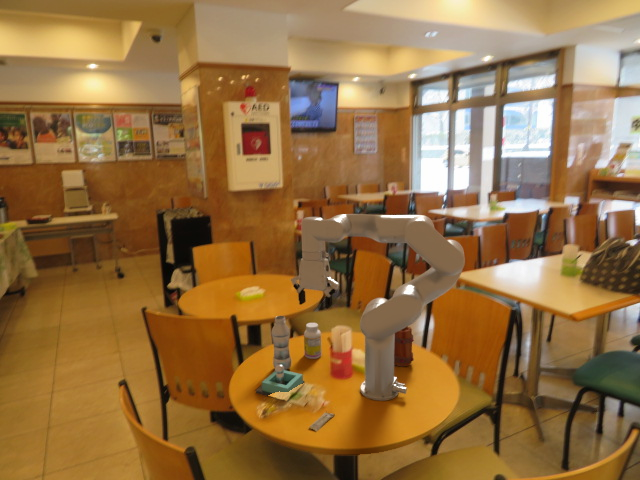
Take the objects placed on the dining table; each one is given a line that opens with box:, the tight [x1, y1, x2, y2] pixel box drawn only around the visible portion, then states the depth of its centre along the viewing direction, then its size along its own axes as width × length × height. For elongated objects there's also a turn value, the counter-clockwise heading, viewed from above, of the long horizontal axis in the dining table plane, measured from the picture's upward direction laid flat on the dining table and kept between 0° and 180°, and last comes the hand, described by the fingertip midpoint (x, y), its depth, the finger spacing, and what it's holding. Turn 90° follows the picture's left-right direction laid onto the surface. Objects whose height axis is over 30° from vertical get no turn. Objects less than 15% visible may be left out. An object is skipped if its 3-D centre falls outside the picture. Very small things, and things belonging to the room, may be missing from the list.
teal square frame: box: [261, 370, 304, 393], centre depth 147 cm, size 10×10×3 cm
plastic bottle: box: [271, 315, 292, 371], centre depth 160 cm, size 6×7×20 cm
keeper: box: [255, 364, 305, 397], centre depth 147 cm, size 12×12×9 cm
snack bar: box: [308, 410, 335, 433], centre depth 129 cm, size 10×2×3 cm
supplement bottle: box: [303, 322, 322, 360], centre depth 170 cm, size 7×7×13 cm
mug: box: [394, 326, 415, 368], centre depth 163 cm, size 15×8×15 cm, turn 49°
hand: (315, 305), depth 145 cm, fingers open, 9 cm apart
